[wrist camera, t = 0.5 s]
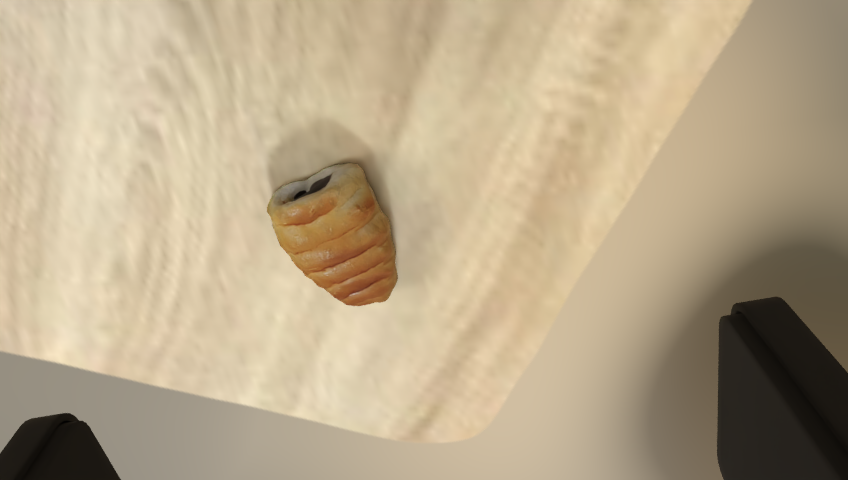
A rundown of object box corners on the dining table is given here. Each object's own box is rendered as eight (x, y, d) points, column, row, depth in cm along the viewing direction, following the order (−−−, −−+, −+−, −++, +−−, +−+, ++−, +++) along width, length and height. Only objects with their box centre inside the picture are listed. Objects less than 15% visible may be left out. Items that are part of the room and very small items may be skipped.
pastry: (423, 271, 43) (423, 304, 40) (333, 307, 45) (325, 342, 41) (356, 148, 39) (349, 173, 36) (259, 192, 41) (244, 220, 37)
